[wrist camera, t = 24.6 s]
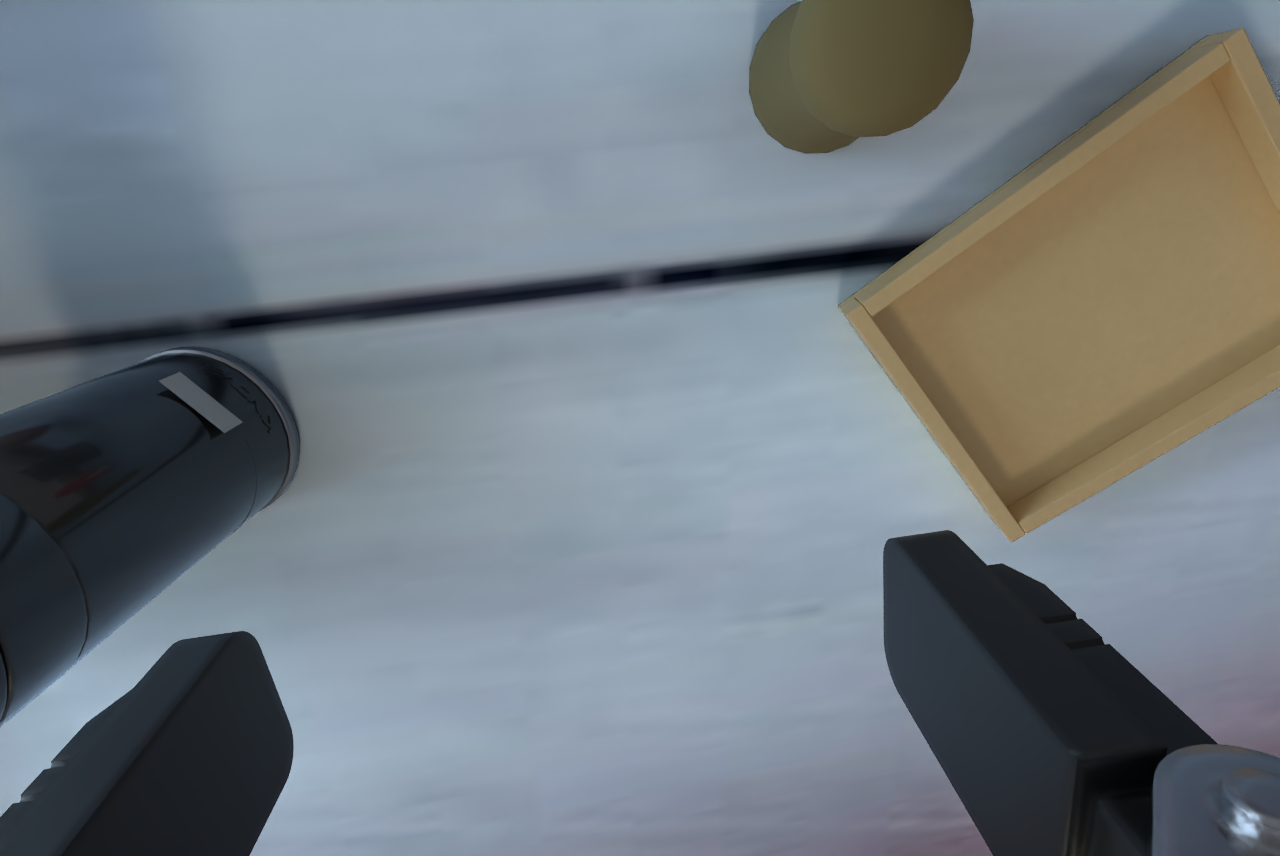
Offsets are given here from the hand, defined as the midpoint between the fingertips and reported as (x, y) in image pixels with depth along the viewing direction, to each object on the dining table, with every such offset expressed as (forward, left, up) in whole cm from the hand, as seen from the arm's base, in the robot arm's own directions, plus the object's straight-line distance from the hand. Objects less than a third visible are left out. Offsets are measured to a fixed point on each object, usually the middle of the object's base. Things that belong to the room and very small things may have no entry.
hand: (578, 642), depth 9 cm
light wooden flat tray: (+15, -13, -26) cm, 33 cm away
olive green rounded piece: (+11, +3, -26) cm, 29 cm away
